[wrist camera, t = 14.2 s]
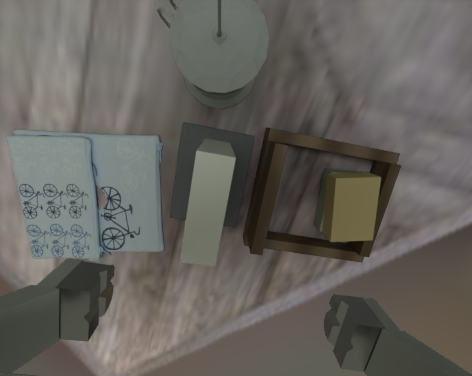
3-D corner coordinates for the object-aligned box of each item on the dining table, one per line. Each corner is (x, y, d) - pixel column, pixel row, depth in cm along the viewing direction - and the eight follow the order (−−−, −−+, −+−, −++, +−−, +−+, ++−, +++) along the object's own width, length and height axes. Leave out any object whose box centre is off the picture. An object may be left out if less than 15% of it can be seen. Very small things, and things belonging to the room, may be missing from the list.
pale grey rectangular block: (230, 142, 36) (236, 157, 23) (216, 215, 39) (215, 266, 26) (205, 138, 36) (196, 150, 23) (193, 211, 39) (179, 262, 25)
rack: (386, 151, 39) (428, 159, 31) (352, 252, 43) (381, 282, 35) (266, 127, 37) (278, 130, 29) (242, 236, 41) (248, 263, 33)
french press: (225, 123, 36) (236, 136, 12) (155, 66, 34) (-3, -60, 10) (271, 64, 35) (388, -55, 11) (201, -1, 32) (146, -349, 8)
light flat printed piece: (14, 128, 35) (1, 129, 33) (165, 134, 37) (162, 136, 35) (36, 254, 40) (26, 261, 38) (168, 255, 42) (165, 262, 40)
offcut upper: (368, 172, 37) (381, 177, 34) (361, 231, 39) (372, 240, 36) (326, 173, 36) (336, 178, 33) (322, 232, 39) (330, 242, 36)
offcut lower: (361, 171, 40) (372, 176, 37) (348, 226, 42) (358, 234, 39) (323, 168, 39) (331, 172, 36) (312, 223, 42) (319, 231, 39)
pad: (253, 136, 37) (254, 136, 36) (235, 226, 40) (235, 227, 40) (183, 122, 36) (182, 122, 35) (170, 216, 39) (169, 217, 39)
